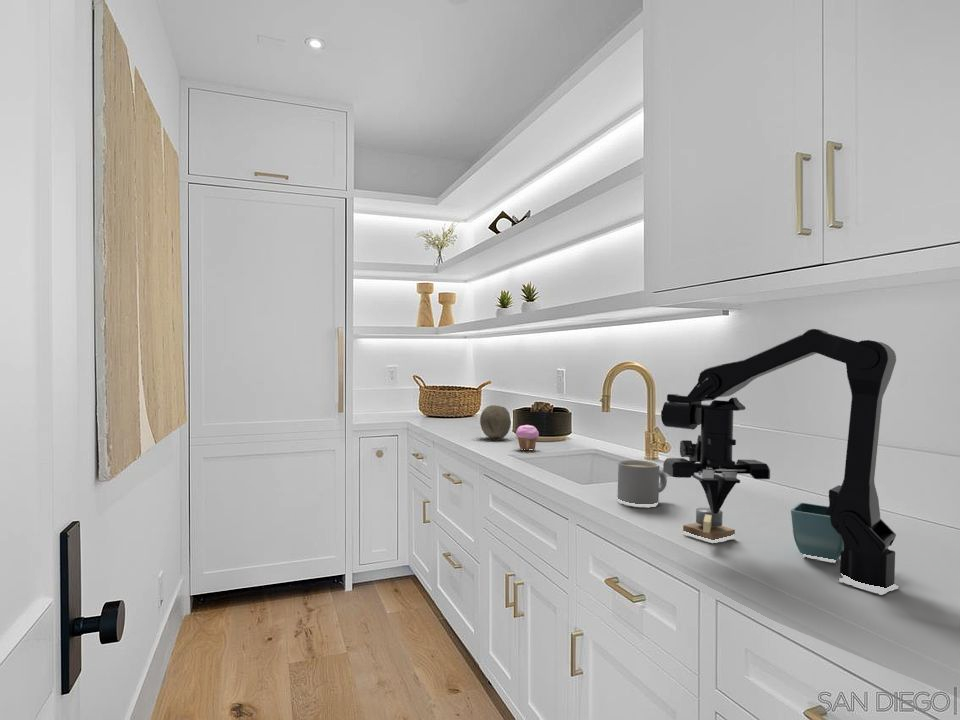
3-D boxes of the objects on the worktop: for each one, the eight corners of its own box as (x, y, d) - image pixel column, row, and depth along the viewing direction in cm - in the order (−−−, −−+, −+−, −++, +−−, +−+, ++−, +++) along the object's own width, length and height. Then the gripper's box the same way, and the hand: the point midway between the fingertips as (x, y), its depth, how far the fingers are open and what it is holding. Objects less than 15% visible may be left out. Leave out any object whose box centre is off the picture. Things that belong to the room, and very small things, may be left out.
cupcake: (527, 452, 218) (527, 426, 218) (510, 449, 224) (511, 424, 224) (542, 450, 224) (543, 425, 224) (526, 447, 230) (527, 422, 230)
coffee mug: (627, 508, 138) (629, 467, 138) (610, 498, 148) (611, 460, 148) (678, 507, 140) (679, 466, 140) (658, 497, 150) (659, 459, 150)
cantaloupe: (517, 440, 250) (518, 406, 250) (489, 442, 243) (490, 407, 243) (500, 436, 262) (500, 403, 262) (473, 438, 255) (474, 404, 255)
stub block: (734, 539, 116) (734, 526, 116) (712, 544, 112) (713, 531, 112) (704, 530, 122) (705, 518, 122) (683, 534, 118) (683, 522, 118)
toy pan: (720, 536, 108) (720, 522, 108) (692, 532, 110) (692, 519, 110) (722, 521, 118) (723, 509, 118) (696, 518, 120) (697, 506, 120)
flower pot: (798, 547, 112) (799, 501, 112) (852, 557, 106) (853, 509, 106) (788, 558, 105) (790, 509, 105) (845, 570, 100) (846, 519, 100)
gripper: (743, 428, 119) (741, 503, 119) (654, 426, 118) (652, 501, 118) (772, 435, 108) (770, 518, 108) (674, 433, 107) (672, 516, 107)
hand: (714, 513), depth 111 cm, fingers closed
